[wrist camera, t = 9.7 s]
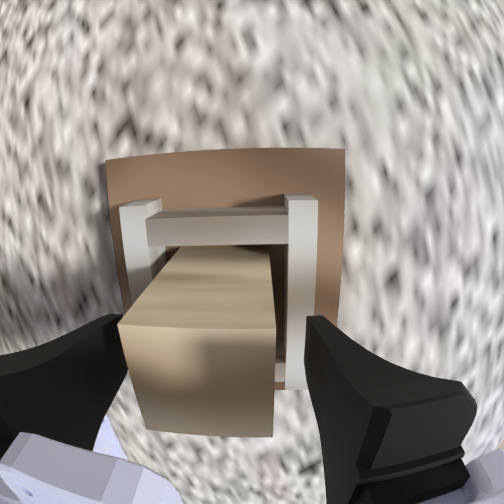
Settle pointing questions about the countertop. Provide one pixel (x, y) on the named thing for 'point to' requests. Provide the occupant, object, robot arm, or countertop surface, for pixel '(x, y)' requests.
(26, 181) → the countertop surface
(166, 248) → the socket board
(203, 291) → the birch peg
